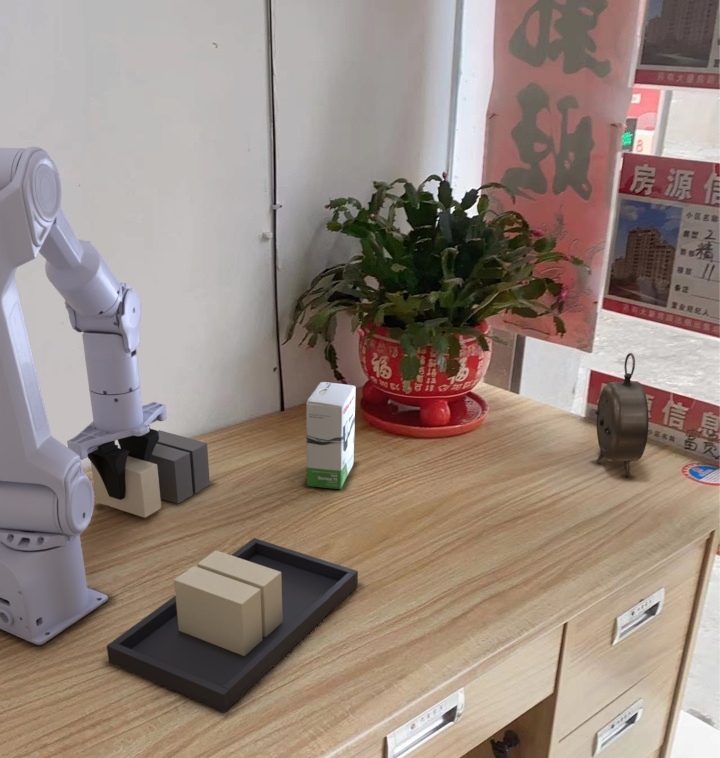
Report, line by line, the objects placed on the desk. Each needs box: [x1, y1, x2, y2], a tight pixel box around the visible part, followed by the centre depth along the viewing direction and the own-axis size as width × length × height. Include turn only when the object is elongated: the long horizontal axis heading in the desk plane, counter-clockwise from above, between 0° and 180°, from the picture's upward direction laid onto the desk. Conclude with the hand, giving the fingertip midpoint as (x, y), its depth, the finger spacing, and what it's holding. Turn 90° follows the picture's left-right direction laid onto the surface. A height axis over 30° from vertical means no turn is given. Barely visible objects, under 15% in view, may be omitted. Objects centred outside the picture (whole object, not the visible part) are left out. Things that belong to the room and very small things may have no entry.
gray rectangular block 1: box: [156, 429, 211, 494], centre depth 116 cm, size 3×8×6 cm, turn 61°
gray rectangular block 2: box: [150, 444, 194, 505], centre depth 113 cm, size 3×8×6 cm, turn 61°
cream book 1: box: [173, 565, 262, 656], centre depth 85 cm, size 3×8×6 cm, turn 61°
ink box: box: [305, 381, 356, 490], centre depth 117 cm, size 9×5×12 cm, turn 168°
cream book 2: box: [197, 550, 283, 637], centre depth 88 cm, size 3×8×6 cm, turn 60°
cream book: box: [90, 456, 162, 519], centre depth 108 cm, size 3×8×6 cm, turn 61°
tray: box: [106, 537, 359, 713], centre depth 89 cm, size 24×14×2 cm, turn 151°
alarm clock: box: [594, 352, 649, 478], centre depth 121 cm, size 11×5×16 cm, turn 179°
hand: (126, 491), depth 108 cm, fingers closed on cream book, 3 cm apart
